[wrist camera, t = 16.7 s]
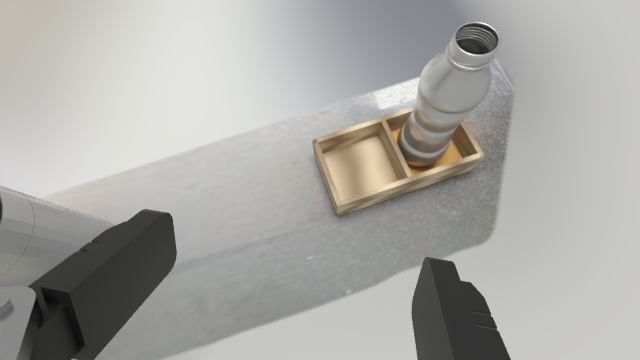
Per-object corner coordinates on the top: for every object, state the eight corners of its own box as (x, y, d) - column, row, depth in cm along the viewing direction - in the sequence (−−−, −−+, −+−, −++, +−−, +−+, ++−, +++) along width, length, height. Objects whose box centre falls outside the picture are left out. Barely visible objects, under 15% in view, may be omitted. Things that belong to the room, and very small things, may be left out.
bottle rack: (337, 217, 43) (337, 206, 38) (314, 156, 46) (312, 139, 41) (471, 170, 44) (487, 154, 39) (439, 114, 47) (450, 94, 43)
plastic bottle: (384, 145, 45) (417, 32, 26) (422, 121, 46) (480, -4, 27) (413, 180, 42) (472, 86, 24) (452, 154, 43) (538, 44, 25)
